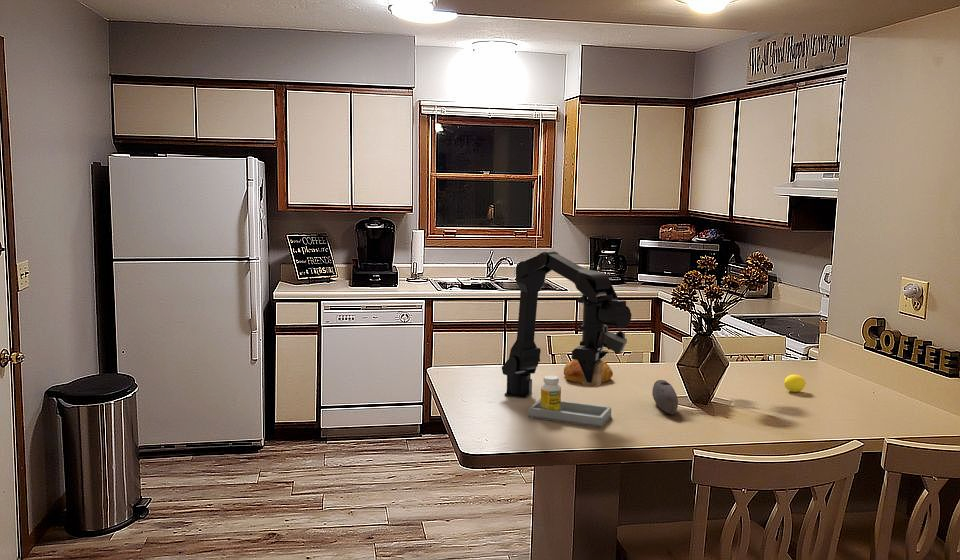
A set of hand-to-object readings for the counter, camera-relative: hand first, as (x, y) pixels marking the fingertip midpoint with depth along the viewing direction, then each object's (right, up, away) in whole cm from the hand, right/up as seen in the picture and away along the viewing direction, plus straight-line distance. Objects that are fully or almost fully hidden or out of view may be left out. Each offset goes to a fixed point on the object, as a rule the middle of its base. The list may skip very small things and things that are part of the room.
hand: (591, 380), depth 209 cm
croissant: (+4, -5, +44) cm, 45 cm away
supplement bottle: (-10, -9, +5) cm, 15 cm away
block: (0, -1, 0) cm, 1 cm away
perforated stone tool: (+22, -10, +12) cm, 27 cm away
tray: (-5, -10, +3) cm, 12 cm away
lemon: (+66, -8, +33) cm, 74 cm away
